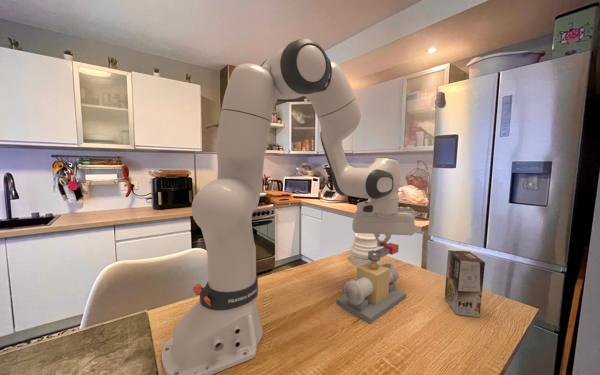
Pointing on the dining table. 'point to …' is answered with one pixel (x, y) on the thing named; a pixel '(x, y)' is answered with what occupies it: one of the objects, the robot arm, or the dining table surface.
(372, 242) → the honey pot
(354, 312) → the valve
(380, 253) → the lever
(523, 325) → the dining table surface
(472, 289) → the coffee box
